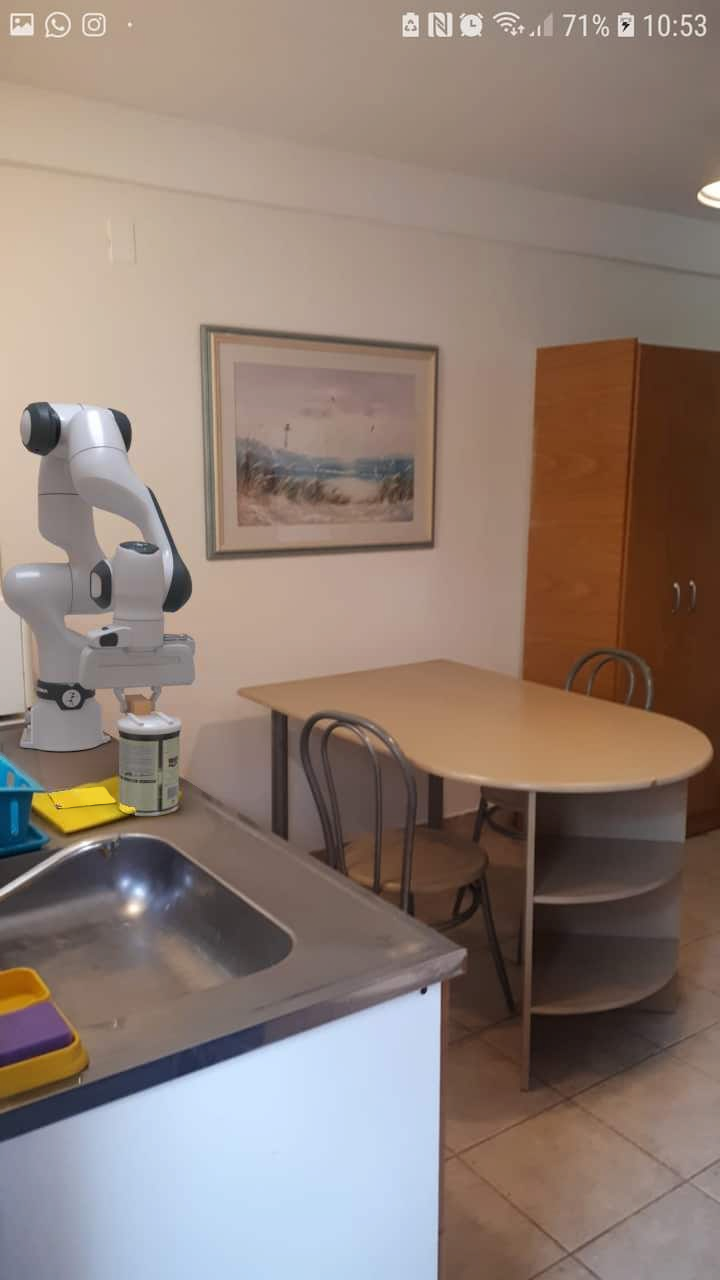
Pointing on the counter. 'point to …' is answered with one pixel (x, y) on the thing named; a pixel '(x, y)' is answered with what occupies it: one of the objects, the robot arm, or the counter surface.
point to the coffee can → (149, 772)
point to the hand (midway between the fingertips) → (137, 711)
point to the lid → (146, 718)
